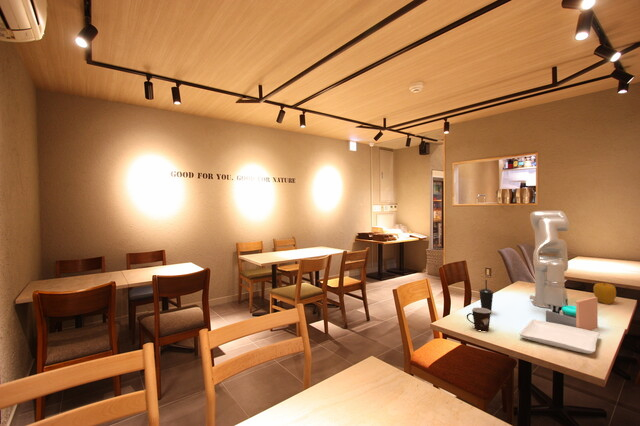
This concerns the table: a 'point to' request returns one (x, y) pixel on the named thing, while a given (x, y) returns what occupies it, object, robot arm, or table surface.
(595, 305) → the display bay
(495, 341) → the table surface
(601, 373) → the table surface
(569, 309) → the donuts
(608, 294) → the apple
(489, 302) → the drinking cup
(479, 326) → the coffee mug
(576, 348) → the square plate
